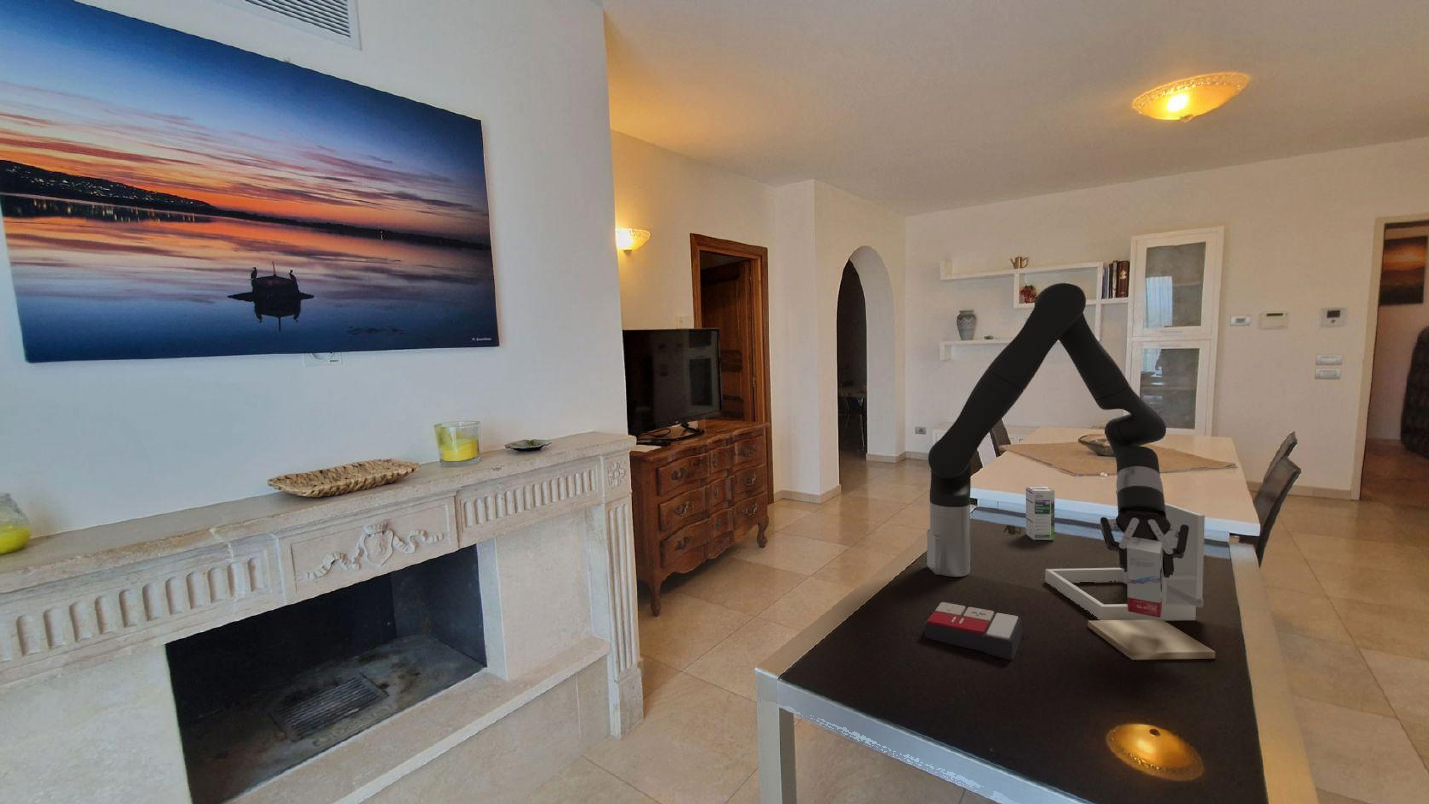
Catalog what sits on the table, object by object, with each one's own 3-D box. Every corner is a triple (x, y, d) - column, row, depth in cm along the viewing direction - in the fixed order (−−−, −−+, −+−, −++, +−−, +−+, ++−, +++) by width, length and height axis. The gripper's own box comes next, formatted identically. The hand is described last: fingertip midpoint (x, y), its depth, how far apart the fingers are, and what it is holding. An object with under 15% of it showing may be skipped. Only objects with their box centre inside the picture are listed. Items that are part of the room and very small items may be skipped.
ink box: (1160, 619, 97) (1160, 553, 96) (1126, 612, 100) (1125, 548, 99) (1163, 601, 103) (1163, 540, 103) (1131, 595, 107) (1130, 535, 106)
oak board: (1131, 659, 96) (1131, 652, 96) (1087, 626, 108) (1087, 620, 108) (1215, 658, 95) (1215, 651, 95) (1161, 625, 107) (1161, 619, 107)
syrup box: (1033, 540, 158) (1033, 490, 157) (1025, 533, 164) (1025, 485, 163) (1054, 540, 157) (1055, 490, 156) (1046, 534, 163) (1046, 485, 162)
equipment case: (1101, 621, 110) (1103, 517, 108) (1045, 581, 130) (1046, 493, 128) (1202, 619, 109) (1205, 515, 107) (1130, 580, 129) (1132, 491, 127)
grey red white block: (939, 599, 115) (1021, 613, 105) (940, 619, 115) (1022, 635, 106) (923, 620, 106) (1011, 637, 97) (924, 642, 106) (1012, 661, 97)
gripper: (1097, 481, 112) (1100, 558, 103) (1189, 487, 105) (1201, 570, 96) (1095, 501, 117) (1098, 575, 108) (1183, 508, 110) (1194, 589, 100)
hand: (1146, 572), depth 102 cm, fingers closed on ink box, 5 cm apart
